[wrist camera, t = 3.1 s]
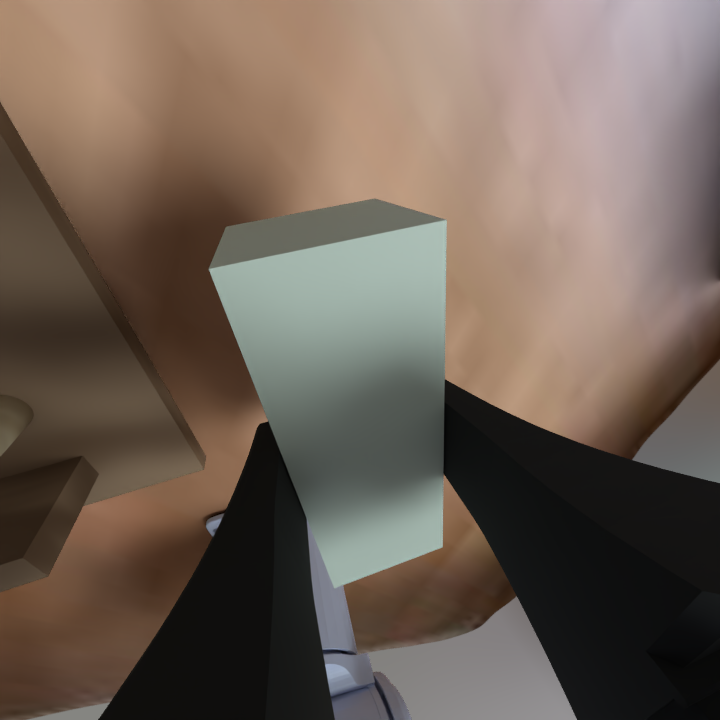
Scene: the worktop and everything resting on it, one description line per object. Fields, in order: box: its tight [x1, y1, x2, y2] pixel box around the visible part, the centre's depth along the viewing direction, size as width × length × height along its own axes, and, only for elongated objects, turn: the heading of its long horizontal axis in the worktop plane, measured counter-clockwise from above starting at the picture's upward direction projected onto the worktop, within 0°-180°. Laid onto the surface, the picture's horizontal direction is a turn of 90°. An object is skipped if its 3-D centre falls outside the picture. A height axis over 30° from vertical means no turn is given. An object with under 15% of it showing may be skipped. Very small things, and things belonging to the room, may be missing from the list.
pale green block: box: [209, 199, 447, 588], centre depth 10 cm, size 11×4×4 cm, turn 8°
